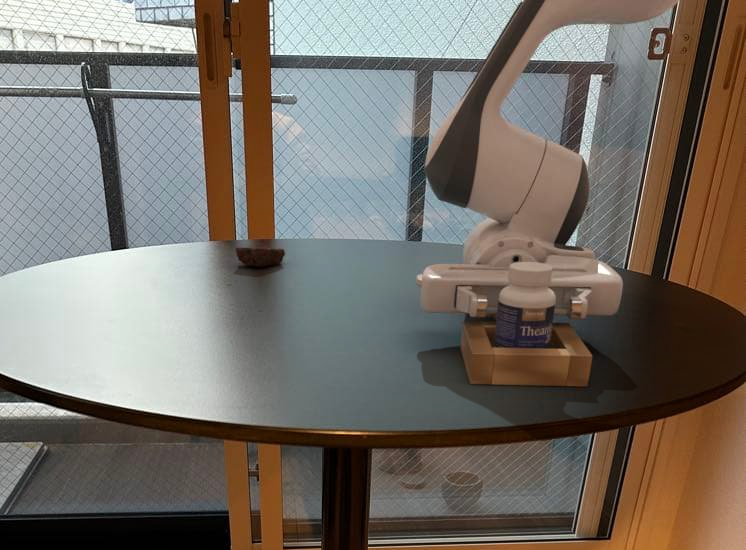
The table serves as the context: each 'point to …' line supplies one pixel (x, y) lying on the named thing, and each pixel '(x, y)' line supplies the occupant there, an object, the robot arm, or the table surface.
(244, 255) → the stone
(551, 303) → the pill bottle
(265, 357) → the table surface
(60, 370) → the table surface
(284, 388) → the table surface
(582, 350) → the socket block
